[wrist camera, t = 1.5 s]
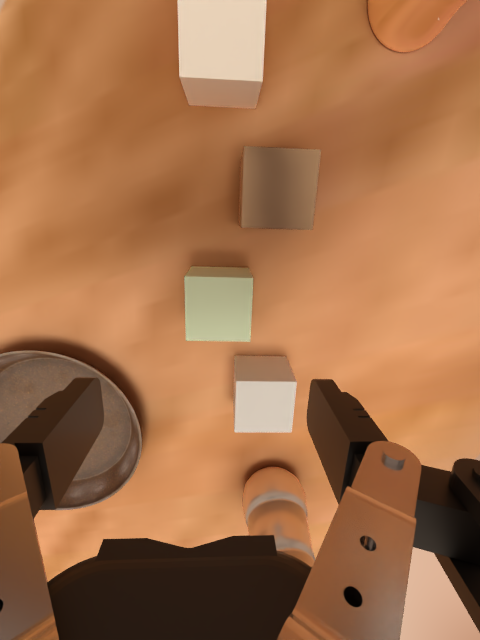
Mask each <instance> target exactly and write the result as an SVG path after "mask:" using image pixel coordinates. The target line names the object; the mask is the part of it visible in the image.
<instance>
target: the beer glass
mask: <svg viewBox="0 0 480 640" xmlns="http://www.w3.org/2000/svg"><path fill="white" fill-rule="evenodd" d="M467 1H468V0H368V17H369V21H370V25H371V28H372V30H373V32H374V34H375V36H376V37H377V39H378V40H379V41H380V42H381V43H382V44H383V45H384V46H386V47H387V48H389V49H391V50H393V51H397V52H411V51H415V50H417V49H420V48H422V47H424V46H425V45H427V44H428V43H429V42H431V41H432V40H433V39H434V38H435V37H436V36H437V35H438V34H439V33H440V32H441V30H442V29H443V28H444V27H445V26H446V24H447V23H448V22H449V20H450V19H451V18H452V16H453V15H454V14H455V12H456V11H457V10H458V9H459V8H460V7H461V6H462V5H463V4H464V3H466V2H467Z"/></svg>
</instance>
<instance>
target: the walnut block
mask: <svg viewBox="0 0 480 640" xmlns="http://www.w3.org/2000/svg"><path fill="white" fill-rule="evenodd" d="M320 155H321V150H316V149H295V148H274V147H253V146H244V149H243V153H242V157H241V167H240V199H239V226H240V227H241V228H268V229H297V230H313V222H314V213H315V203H316V194H317V184H318V175H319V165H320Z"/></svg>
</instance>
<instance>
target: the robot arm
mask: <svg viewBox="0 0 480 640" xmlns="http://www.w3.org/2000/svg"><path fill="white" fill-rule="evenodd" d="M103 423H104V408H103V400H102V391H101V384H100V380H99V378H91V377H77V378H74V379H73V380H72V382H71V383H70V384H69V385H68V386H67V387H66V388H65V389H64V390H63V391H58V392H56V393H54V394H53V395H51V396H49V397H47V398H46V399H44V400H43V401H42V402H41V403H40V404H39V405H38V406H37V407H36V410H33V411H32V412H31V413H30V414H29V415H28V418H26V419H25V420H24V421H23V422H22V423H21V424H20V425H19V426H18V427H17V428H16V429H15V430H14V431H13V432H12V433H11V434H10V435H9V436H8V437H7V438H6V439H5V440H4V441H3V442H2V443H1V444H0V640H400V633H401V626H402V619H403V612H404V605H405V598H406V591H407V584H408V577H409V570H410V563H411V555H412V548H413V547H416V548H419V549H423V550H426V551H430V552H433V553H434V554H435V555H436V557H437V559H438V561H439V562H440V564H441V566H442V568H443V569H444V571H445V573H446V575H447V576H448V578H449V580H450V581H451V583H452V585H453V587H454V588H455V590H456V592H457V594H458V595H459V597H460V599H461V601H462V602H463V604H464V606H465V607H466V609H467V611H468V613H469V615H470V616H471V618H472V620H473V622H474V623H475V625H476V627H477V628H478V630H479V632H480V461H478V460H474V459H459V460H457V461H456V462H455V463H454V465H453V468H452V471H451V472H450V471H445V470H441V469H436V468H432V467H427V466H424V465H421V463H420V461H419V459H418V458H417V457H416V456H415V455H414V454H413V453H412V452H411V451H410V450H408V449H406V448H405V447H403V446H401V445H399V444H396V443H393V442H389V441H388V440H387V439H386V437H385V436H384V434H383V433H382V432H381V430H380V429H379V428H378V426H377V425H376V424H375V422H374V421H373V420H372V418H370V416H369V414H368V413H367V412H366V411H364V408H363V406H362V405H361V404H360V402H359V401H358V400H357V399H356V398H354V397H353V396H351V395H350V394H348V393H347V392H341V391H340V389H339V388H338V387H337V385H336V384H335V382H334V381H333V380H332V379H313V380H312V381H311V384H310V392H309V401H308V409H307V426H308V430H309V433H310V435H311V438H312V440H313V443H314V445H315V448H316V450H317V453H318V455H319V458H320V460H321V462H322V465H323V467H324V470H325V472H326V475H327V477H328V480H329V482H330V485H331V487H332V490H333V492H334V495H335V497H336V499H337V502H338V504H339V506H338V508H337V511H336V513H335V515H334V518H333V520H332V522H331V525H330V527H329V529H328V532H327V534H326V536H325V539H324V541H323V543H322V546H321V548H320V550H319V553H318V555H317V557H316V560H315V562H314V564H313V567H311V566H309V565H308V564H306V563H305V562H303V561H302V560H300V559H298V558H296V557H294V556H292V555H289V554H287V553H284V552H281V551H277V550H276V544H275V538H274V535H253V536H232V537H228V538H225V539H221V540H218V541H214V542H211V543H207V544H204V545H201V546H197V547H194V548H184V547H180V546H176V545H172V544H168V543H164V542H160V541H156V540H152V539H148V538H136V539H103V542H102V545H101V547H100V550H99V553H98V555H97V556H95V557H92V558H89V559H87V560H84V561H82V562H80V563H78V564H76V565H74V566H72V567H70V568H68V569H66V570H65V571H63V572H62V573H60V574H58V575H57V576H55V577H54V578H53V579H51V580H50V581H49V582H47V577H46V573H45V568H44V564H43V559H42V555H41V550H40V546H39V541H38V537H37V532H36V528H35V524H34V517H35V516H36V514H37V513H38V511H39V510H56V508H57V507H58V505H59V503H60V501H61V500H62V498H63V496H64V494H65V493H66V491H67V489H68V487H69V486H70V484H71V482H72V481H73V479H74V477H75V475H76V474H77V472H78V470H79V468H80V467H81V465H82V463H83V461H84V460H85V458H86V456H87V455H88V453H89V451H90V449H91V448H92V446H93V444H94V442H95V441H96V439H97V437H98V435H99V434H100V432H101V430H102V427H103Z"/></svg>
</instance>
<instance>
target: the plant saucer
mask: <svg viewBox="0 0 480 640" xmlns="http://www.w3.org/2000/svg"><path fill="white" fill-rule="evenodd" d="M77 377H91V378H99V380H100V384H101V391H102V400H103V408H104V423H103V427H102V430H101V432H100V434H99V435H98V437H97V439H96V441H95V442H94V444H93V446H92V448H91V449H90V451H89V453H88V455H87V456H86V458H85V460H84V461H83V463H82V465H81V467H80V468H79V470H78V472H77V474H76V475H75V477H74V479H73V481H72V482H71V484H70V486H69V487H68V489H67V491H66V493H65V494H64V496H63V498H62V500H61V501H60V503H59V505H58V507H57V508H56V510H71V509H78V508H83V507H87V506H91V505H94V504H97V503H99V502H102V501H104V500H106V499H108V498H109V497H111V496H112V495H114V494H115V493H117V492H118V491H119V490H120V489H122V487H123V486H124V485H125V484H126V483H127V482H128V481H129V480H130V478H131V477H132V475H133V474H134V472H135V470H136V468H137V465H138V463H139V460H140V456H141V449H142V436H141V429H140V425H139V422H138V419H137V416H136V414H135V411H134V409H133V407H132V405H131V404H130V402H129V400H128V399H127V397H126V396H125V395H124V393H123V392H122V391H121V390H120V388H119V387H118V386H117V385H116V384H115V383H114V382H113V381H112V380H110V379H109V378H108V377H107V376H106V375H104V374H103V373H102V372H100V371H99V370H97V369H95V368H94V367H92V366H90V365H88V364H86V363H84V362H82V361H80V360H77V359H74V358H72V357H68V356H65V355H61V354H57V353H51V352H45V351H34V350H24V351H13V352H7V353H2V354H0V444H1V443H2V442H3V441H4V440H5V439H6V438H7V437H8V436H9V435H10V434H11V433H12V432H13V431H14V430H15V429H16V428H17V427H18V426H19V425H20V424H21V423H22V422H23V421H24V420H25V419H26V418H28V415H29V414H30V413H31V412H32V411H33V410H36V407H37V406H38V405H39V404H40V403H41V402H42V401H43V400H44V399H46V398H47V397H49V396H51V395H53V394H54V393H56V392H58V391H63V390H64V389H65V388H66V387H67V386H68V385H69V384H70V383H71V382H72V380H73V379H74V378H77Z"/></svg>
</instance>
